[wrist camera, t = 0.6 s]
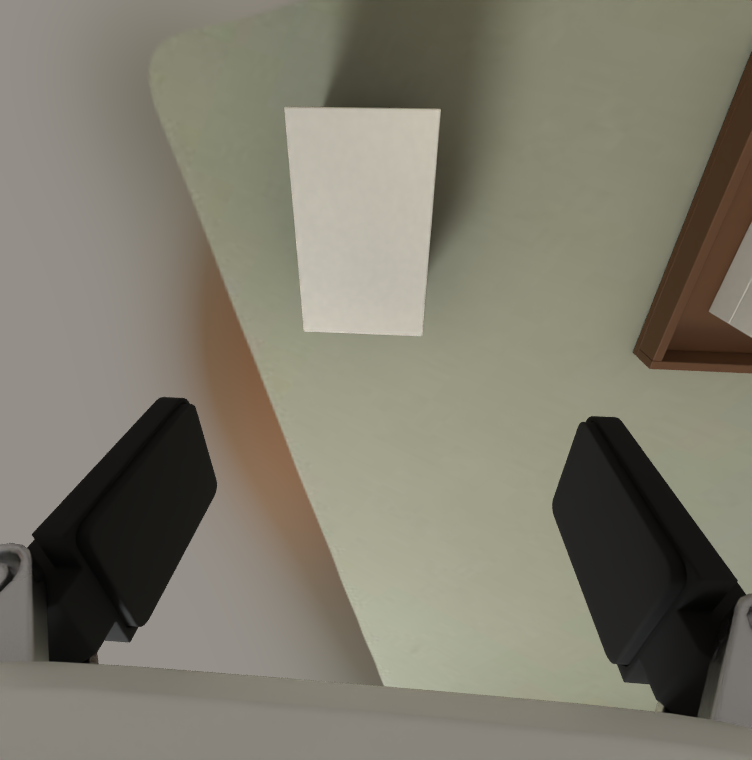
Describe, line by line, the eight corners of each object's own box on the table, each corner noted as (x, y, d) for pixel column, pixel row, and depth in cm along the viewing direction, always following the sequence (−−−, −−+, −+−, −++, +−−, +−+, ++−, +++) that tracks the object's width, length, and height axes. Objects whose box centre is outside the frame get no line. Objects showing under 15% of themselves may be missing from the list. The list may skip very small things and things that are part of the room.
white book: (294, 108, 19) (283, 106, 17) (438, 110, 18) (441, 108, 17) (311, 317, 24) (303, 331, 22) (421, 321, 24) (422, 336, 22)
